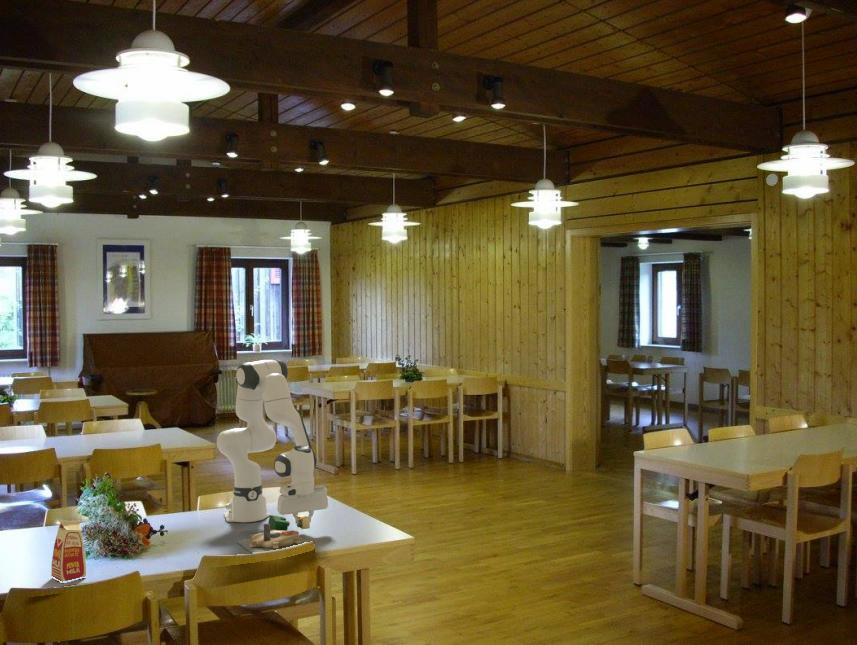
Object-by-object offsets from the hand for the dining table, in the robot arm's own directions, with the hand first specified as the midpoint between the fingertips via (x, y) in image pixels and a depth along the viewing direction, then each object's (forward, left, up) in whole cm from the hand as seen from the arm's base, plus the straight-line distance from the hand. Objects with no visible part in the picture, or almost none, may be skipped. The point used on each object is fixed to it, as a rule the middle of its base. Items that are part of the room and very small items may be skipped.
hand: (303, 522), depth 335 cm
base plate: (+8, -15, -5) cm, 17 cm away
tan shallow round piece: (+8, -15, -3) cm, 17 cm away
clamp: (-10, -7, -5) cm, 13 cm away
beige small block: (0, 0, -2) cm, 2 cm away
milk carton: (+9, -87, -5) cm, 87 cm away
